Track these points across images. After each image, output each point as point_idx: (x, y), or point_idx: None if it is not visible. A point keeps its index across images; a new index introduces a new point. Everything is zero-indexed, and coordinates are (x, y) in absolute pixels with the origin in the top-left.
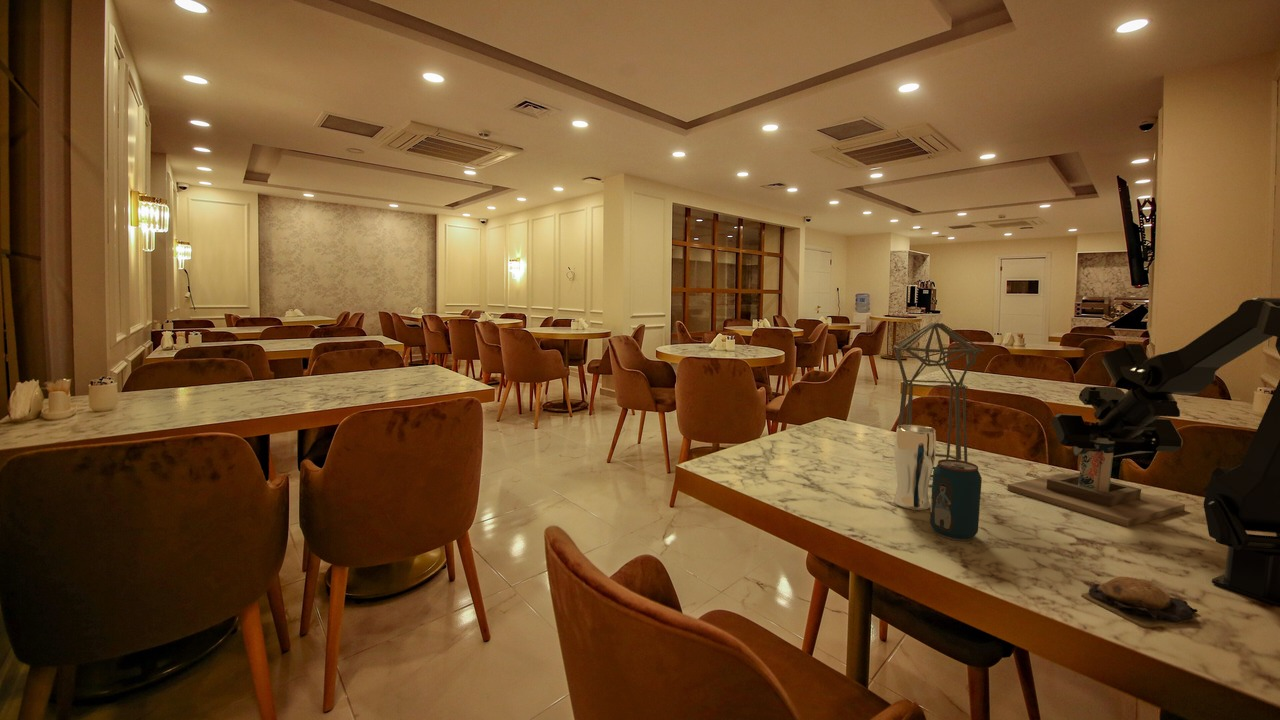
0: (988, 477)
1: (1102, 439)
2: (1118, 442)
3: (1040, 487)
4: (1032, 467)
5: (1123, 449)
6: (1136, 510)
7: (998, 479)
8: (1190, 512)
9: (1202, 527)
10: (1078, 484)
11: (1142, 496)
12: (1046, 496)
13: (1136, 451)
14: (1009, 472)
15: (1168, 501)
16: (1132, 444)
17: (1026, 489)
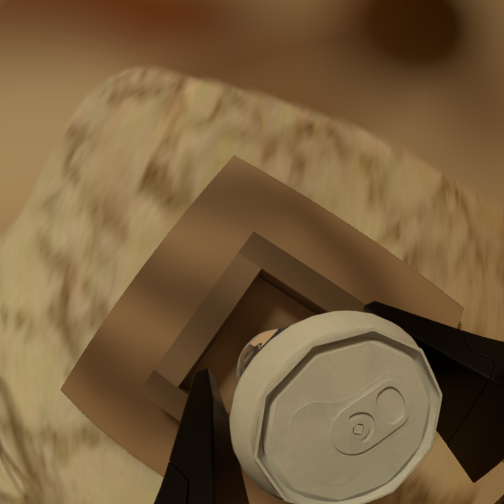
0: (43, 277)
1: (354, 500)
2: (447, 373)
3: (135, 380)
4: (177, 107)
5: (439, 415)
6: None
7: (60, 284)
8: (460, 320)
9: None
10: (237, 376)
11: (401, 301)
12: (146, 464)
13: (467, 473)
14: (104, 187)
15: (442, 310)
16: (484, 457)
17: (99, 422)
